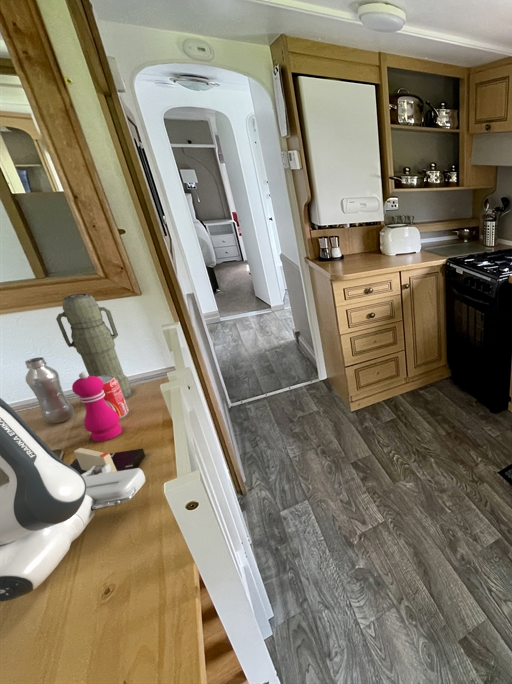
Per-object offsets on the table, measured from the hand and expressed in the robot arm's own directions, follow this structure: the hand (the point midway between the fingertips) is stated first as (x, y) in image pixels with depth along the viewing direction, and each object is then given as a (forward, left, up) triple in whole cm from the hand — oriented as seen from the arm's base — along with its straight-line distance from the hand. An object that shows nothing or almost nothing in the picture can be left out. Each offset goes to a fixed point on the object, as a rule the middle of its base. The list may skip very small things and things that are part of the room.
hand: (102, 467), depth 87 cm
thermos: (-7, +51, -6) cm, 52 cm away
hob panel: (-3, +5, -6) cm, 8 cm away
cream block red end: (-2, +5, -4) cm, 6 cm away
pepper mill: (-5, +26, -6) cm, 28 cm away
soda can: (-5, +36, -6) cm, 37 cm away
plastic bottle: (-18, +42, -6) cm, 46 cm away
